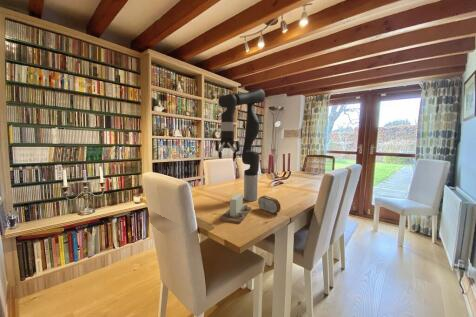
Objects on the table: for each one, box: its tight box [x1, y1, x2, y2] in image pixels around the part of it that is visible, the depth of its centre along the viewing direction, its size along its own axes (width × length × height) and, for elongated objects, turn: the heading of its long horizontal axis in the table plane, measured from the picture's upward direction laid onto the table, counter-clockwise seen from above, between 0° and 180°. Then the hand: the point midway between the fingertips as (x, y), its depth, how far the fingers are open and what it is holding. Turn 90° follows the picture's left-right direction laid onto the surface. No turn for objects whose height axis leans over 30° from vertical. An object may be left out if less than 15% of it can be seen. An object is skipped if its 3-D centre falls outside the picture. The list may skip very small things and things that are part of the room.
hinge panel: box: [219, 204, 252, 224], centre depth 112 cm, size 22×11×4 cm, turn 162°
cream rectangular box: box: [229, 192, 244, 217], centre depth 112 cm, size 4×12×9 cm, turn 162°
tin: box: [257, 195, 282, 215], centre depth 117 cm, size 15×3×8 cm, turn 41°
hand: (227, 158), depth 117 cm, fingers open, 8 cm apart
